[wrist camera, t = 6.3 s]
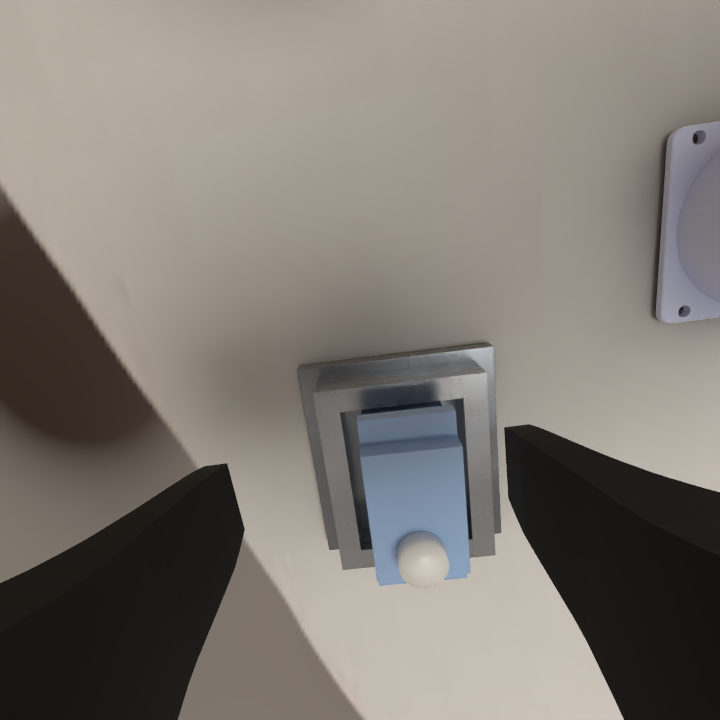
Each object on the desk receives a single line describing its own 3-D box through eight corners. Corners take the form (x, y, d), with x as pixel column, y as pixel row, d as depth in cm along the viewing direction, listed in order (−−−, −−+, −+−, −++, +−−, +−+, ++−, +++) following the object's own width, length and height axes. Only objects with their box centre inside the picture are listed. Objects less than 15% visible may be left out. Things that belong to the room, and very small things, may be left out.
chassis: (487, 342, 19) (508, 358, 16) (496, 522, 21) (515, 562, 19) (300, 365, 19) (289, 384, 17) (330, 539, 22) (325, 580, 19)
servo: (436, 375, 18) (466, 430, 13) (446, 512, 20) (477, 611, 15) (358, 384, 19) (356, 442, 13) (376, 519, 21) (380, 620, 15)
